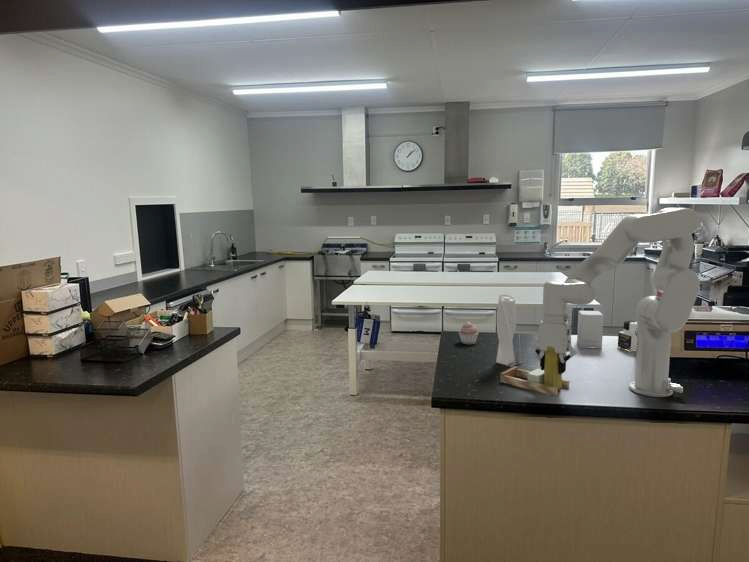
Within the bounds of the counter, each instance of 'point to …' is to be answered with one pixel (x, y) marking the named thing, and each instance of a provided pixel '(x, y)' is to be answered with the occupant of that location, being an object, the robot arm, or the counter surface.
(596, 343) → the supplement box
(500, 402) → the counter surface
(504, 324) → the skyscraper
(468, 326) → the cupcake
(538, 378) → the block
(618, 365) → the counter surface
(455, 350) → the counter surface
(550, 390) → the track
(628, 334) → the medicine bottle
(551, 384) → the vase
